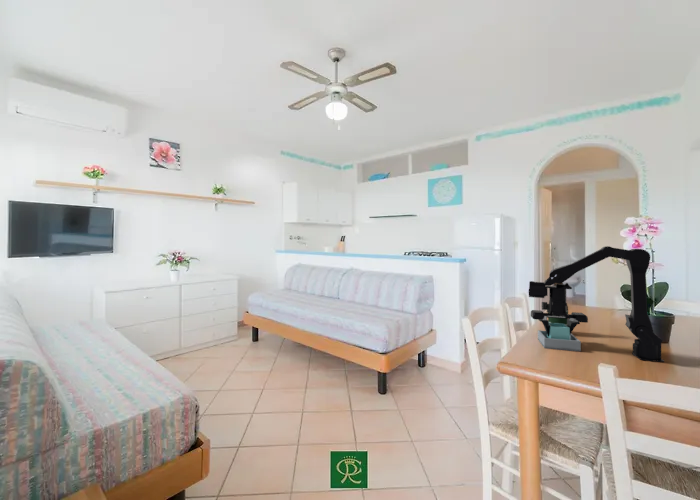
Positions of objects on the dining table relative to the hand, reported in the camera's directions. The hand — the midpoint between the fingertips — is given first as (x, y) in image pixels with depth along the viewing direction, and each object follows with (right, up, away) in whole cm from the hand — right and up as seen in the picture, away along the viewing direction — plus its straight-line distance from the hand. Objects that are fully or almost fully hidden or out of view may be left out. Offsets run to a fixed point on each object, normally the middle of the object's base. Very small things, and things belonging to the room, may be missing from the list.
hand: (557, 336), depth 123 cm
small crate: (0, -1, 0) cm, 1 cm away
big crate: (0, -4, 0) cm, 4 cm away
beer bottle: (+12, -3, +17) cm, 21 cm away
